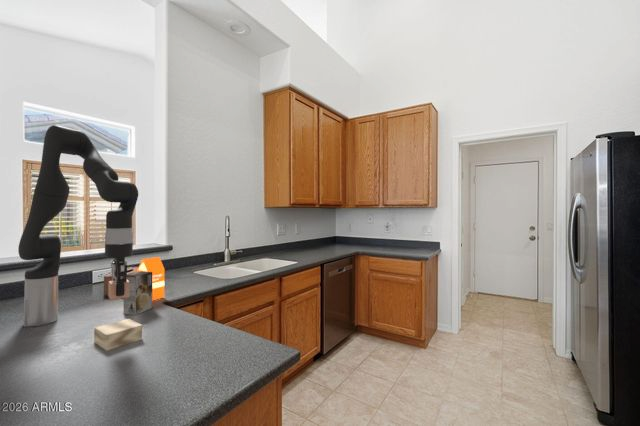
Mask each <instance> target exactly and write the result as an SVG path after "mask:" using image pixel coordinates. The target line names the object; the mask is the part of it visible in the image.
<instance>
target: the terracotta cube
mask: <svg viewBox="0 0 640 426" xmlns="http://www.w3.org/2000/svg"><path fill="white" fill-rule="evenodd" d="M115 282H116V280H114V281H109V289H108V298H109V300H111V301H112V300H118V299H124V298H125V297H129V281H128V280H127V281H126V283H125V291H124V295H123V296H116V284H115Z"/></svg>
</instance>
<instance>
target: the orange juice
mask: <svg viewBox="0 0 640 426" xmlns="http://www.w3.org/2000/svg"><path fill="white" fill-rule="evenodd" d="M138 267H139V268H138V270H137V272H140V271H146V272H152V294H153V295H152V299H153V300H156V299H159V298H162V297H164V298H165V281H166V280H165V267H164V265H163V262H162V260H161V257H160V256H156V257H155V256H154V257H149V258H142V259H141V262H140V264H139V266H138ZM159 300H160V299H159ZM156 301H157V300H156Z"/></svg>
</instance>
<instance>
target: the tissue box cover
mask: <svg viewBox="0 0 640 426" xmlns="http://www.w3.org/2000/svg"><path fill="white" fill-rule="evenodd" d="M138 268H139V266H128V267H127V274H131V273H136V272H137V270H138ZM111 276H112V274H111V272H110V273H108V274H106V275H105V276H104V275H103V296H104V295H105V296H104V297H107V296H106V295H108V289H109V281H113V280H112V279H113V278H112V277H111ZM122 279H123V277H122Z"/></svg>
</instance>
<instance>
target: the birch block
mask: <svg viewBox="0 0 640 426" xmlns="http://www.w3.org/2000/svg"><path fill="white" fill-rule="evenodd" d="M93 330H94V333H93V343H95V344H96V345H98V346H99V347H100V348H102V349H104V350H105V351H106V352H108V351H110V350H113V349H116V348H119V347H118V346H120V347H121V345H123V346H126V345H128V344H132V343H134V342H137V341H140V340H141V341H142V340H143V324H141V323H139V322H136V321H135V320H132V319H130V318H125V319H122V320H118V321H115V322H110V323H106V324H103V325H99V326H95V327H94V329H93ZM115 347H116V348H115Z"/></svg>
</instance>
